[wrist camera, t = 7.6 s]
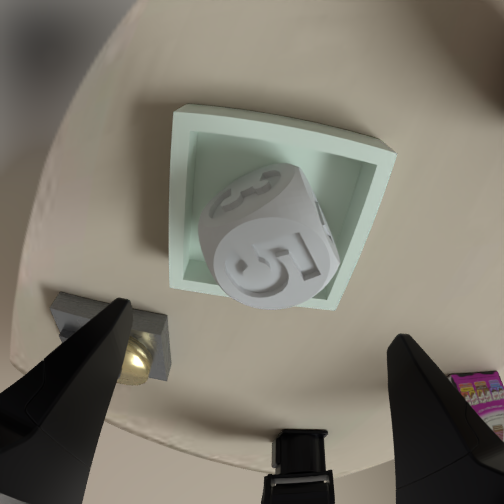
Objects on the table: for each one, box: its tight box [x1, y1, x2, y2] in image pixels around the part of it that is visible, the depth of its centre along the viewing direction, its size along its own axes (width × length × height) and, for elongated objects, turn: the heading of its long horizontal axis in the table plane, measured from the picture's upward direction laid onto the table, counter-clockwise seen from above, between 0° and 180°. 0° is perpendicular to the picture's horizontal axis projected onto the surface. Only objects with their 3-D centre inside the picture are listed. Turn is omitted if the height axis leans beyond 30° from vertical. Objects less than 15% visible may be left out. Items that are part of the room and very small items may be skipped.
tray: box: [169, 104, 397, 311], centre depth 16 cm, size 10×10×2 cm
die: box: [198, 163, 340, 310], centre depth 14 cm, size 5×5×5 cm
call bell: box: [50, 292, 171, 385], centre depth 23 cm, size 10×7×4 cm
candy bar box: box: [447, 371, 504, 442], centre depth 23 cm, size 11×5×16 cm, turn 78°
